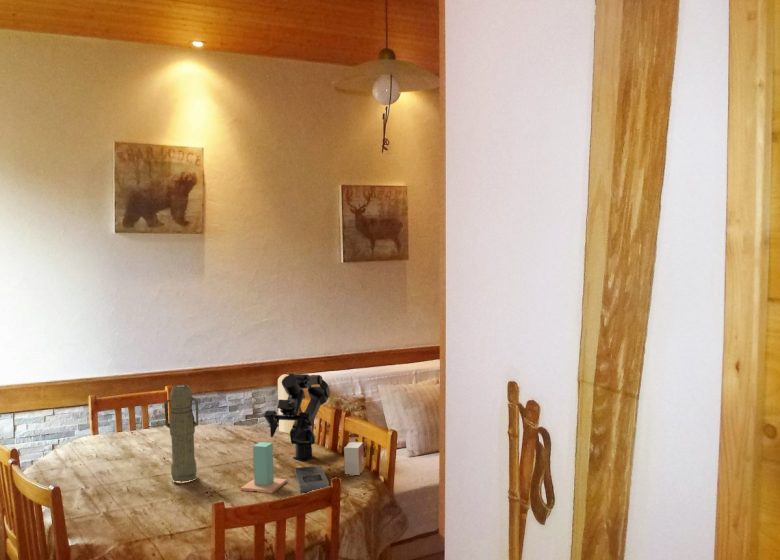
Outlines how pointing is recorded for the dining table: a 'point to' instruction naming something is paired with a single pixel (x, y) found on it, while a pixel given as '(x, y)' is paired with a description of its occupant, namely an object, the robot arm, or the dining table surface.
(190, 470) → the thermos
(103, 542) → the dining table surface
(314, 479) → the grey slotted board
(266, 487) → the tile
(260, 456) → the peg
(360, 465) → the small box
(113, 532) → the dining table surface
